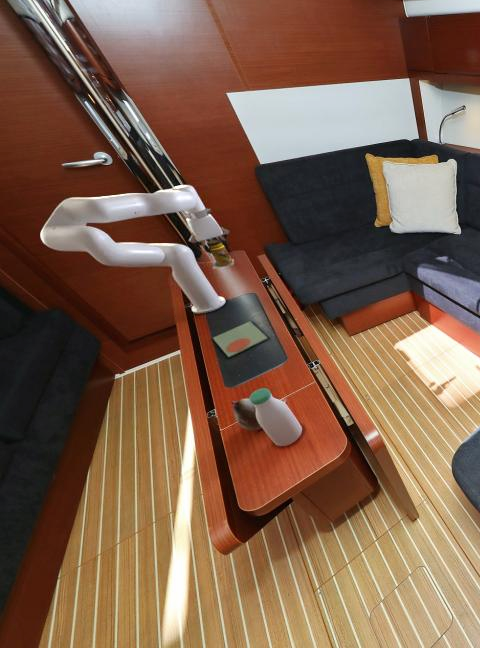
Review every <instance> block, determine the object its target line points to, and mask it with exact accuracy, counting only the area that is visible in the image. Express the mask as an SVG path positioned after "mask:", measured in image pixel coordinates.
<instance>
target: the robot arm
mask: <svg viewBox="0 0 480 648" xmlns="http://www.w3.org/2000/svg"><path fill="white" fill-rule="evenodd" d="M180 212H184V214H185V216H186V219H185V220H186V223H187V225H188V228H189V230H190V232H191V235H190V237H189V239H188V241H189V242H190V243H192V244H196V245H199V246H201V247H202V248H203V249H204V251H205V252H206V253H208V254H211V251H210V249H209V247H208V245H207V243H206V241H207V240H210V239H215V238H217V237H218V238H219V240H220V241H221V243H222V245H224V246H225V248H226V250H228V249H229V247H228V246H229V245H228V243H227V241H226V239H227V237H228V235H229V233H230V230H228V229H227V228H224V227H221V226H220V225H219V224H218V222H217V220H215V218H214V216H212V214H210V213H211V212H212V209H211V208H206V207H205V205H204V203H203V201H202V199H201V197H200V196H199V194H198V192H197V190H196V189H195V187H194V186H193V185H191V184H181V185H176V186H173V187H172V188H168V189H162V190H161V189H160V190H157V191H155V192H153V193H142V192H141V193H140V192H138V193H137V192H136V193H135V192H133V193H122V194H121V193H120V194H115V195H106V196H105V195H104V196H95V197H69V198H65V199H64V200H62V201H61V202H60V203H59V204H58V205H57V206H56V207H55V209H54V210H53V212H52V213H51V215H50V216H49V218H48V219H47V220H46V222H45V224H44V225H43V227H42V229H41V231H40V240H41V241H42V243H43V244H44V245H45V246H47V247H48V248H50V249H52V250H54V251H59V252H86V253H88V254H89V255H90V256H92V257H93V258H94V259H95V260H96V261H97V262H99V263H100V264H102V265H105V266H108V267H123V268H148V267H169V268H171V269H172V272H171V274H172V278H173V279H174V281H175V282H176V284H177V285H178V287H180V289H181V290H182V292H183V293H184V295H185V296H186V297H187V298H188V300H189V301H190V303H191V304H192V306H191V312H193V313H194V314H199V315H200V314H207V313H211V312H213V311H216V310H218V309H220V308H221V307H223V306H224V305H225V304H226V298H225V297H224V296H219V295H218V294H217V292H216V290H215V289H214V287H213V286H212V284H211V283H210V281H209V279H208V278H207V277H206V275H205V274H204V272H203V271H202V268H200V266H199V264H198V262H197V259H196V257H195V254H194V252H193V250H192V249H191V248H190V247H189V246H187V245H185V244H180V243H145V242H128V241H127V242H124V241H123V242H122V241H121V242H115V240H113V238H111V236H110V235H109V234H108V233H106V232H105V231H103V230H102V229H100V228H97V227H94V226H88V225H87V224H108V223H114V222H119V221H125V220H130V219H131V220H132V219H136V218H143V217H152V216H158V215H164V214H173V213H180ZM195 239H197V240H195ZM211 255H212V254H211Z"/></svg>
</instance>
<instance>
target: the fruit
mask: <svg viewBox="0 0 480 648" xmlns="http://www.w3.org/2000/svg"><path fill="white" fill-rule="evenodd" d="M230 403H231V405H233V407H232V411H233V413H234V419H235V422H236V423H237V424H238V425H239V426H240V427H242V428H243V429H245V430H247V431H251V432H252V431H259V430H261V429H263V428H262V427H261V426H260V424H259V423H258V421H257V418H256V406H254V405H253V404H252V403H251V401H250V398H242V399H239V400H238V401H234V400H231V401H230Z"/></svg>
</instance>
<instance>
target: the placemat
mask: <svg viewBox="0 0 480 648" xmlns="http://www.w3.org/2000/svg"><path fill="white" fill-rule="evenodd" d="M212 339H213V341H214V342H215V343H216V344H217V345H218V347H220V349H221V350H222V351H223V353H224V354H225V355H226V356H227V357H228V358H229V359H230V358H232V357H234V356H236V355H239V354H241V353H243V352H244V351H247V350H248V349H251V348H252V347H255V346H257V345H260V344H261V343H263V342H264V341H267V340H268V339H269V338H268V337H267V336H266V335H265V334H264V333H263V332H262V331H261V329H259V328H258V327H257V326H256V325H255V324H254V323H253V322H252V320H251V321H247V322H246V323H243V324H240V325H239V326H236V327H234V328H232V329H229V330H227V331H225V332H222V333H221V334H218V335H216V336H213V337H212Z"/></svg>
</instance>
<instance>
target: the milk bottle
mask: <svg viewBox="0 0 480 648" xmlns="http://www.w3.org/2000/svg"><path fill="white" fill-rule="evenodd" d="M249 399H250V401H251V403H252V404H253V405H254V406H256V418H257V421H258V423H259V424H260V426H261V427H262V428H261V429H262V430H263V431H264V432H265V434H266V435H267V436H268V438H269V439H270V440H271V441H272V442H273V443H274V445H275V446H277V447H286V446H287V447H288V446H289V445H292V444H294V443H295V442H296V441H297V440H298V439H299V438H300V437H301V435H302V433H303V432H302V431H303V427H302V425H301V423H300V421H299V420H298V419H297V418H296V416H295V415H294V413H293V411H292V410H291V409H290V407H289V406H288V404H286V402H284V401H283V400H281V399H278V398H275V397H274V396H273V394H272V393H271V391H270V389H268V388H265V387H263V388H258V389H257V390H254V391H253V392H252V393H251V394H250V396H249Z"/></svg>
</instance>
